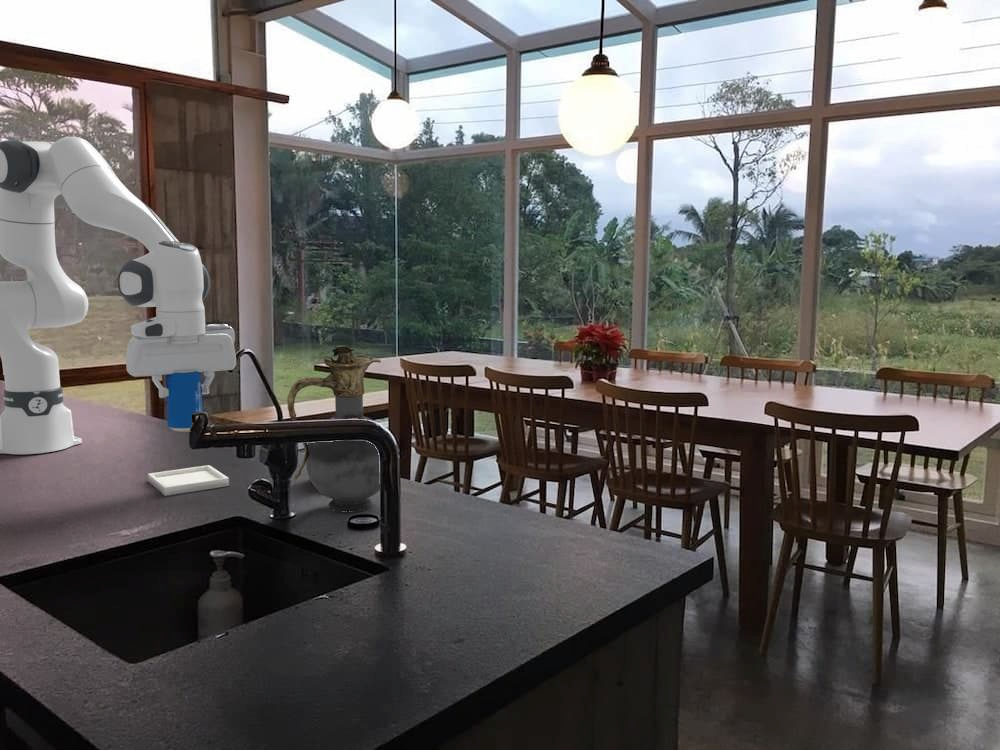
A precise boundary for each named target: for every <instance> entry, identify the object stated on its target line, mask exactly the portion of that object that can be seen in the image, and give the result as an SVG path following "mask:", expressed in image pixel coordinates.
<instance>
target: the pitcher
mask: <svg viewBox="0 0 1000 750" xmlns="http://www.w3.org/2000/svg"><path fill="white" fill-rule="evenodd" d="M355 351H357V350H356V349H355V348H351V346H350V347H349V346H347V345H337V346H334V348H333V349H332V351H331V352H332V353H333V357H337V356H338V357H337V359H334V358H333V357H331V356H328V355H325V356H323V357H322V356H321V357H320V359H323V362H324V364H325V366H326V367H329V369H330V373H329V374H328V376H327V377H324V378H322V377H314V376H306V377H303V378H300V379H298V380H296V381H295V382H294V383H292V386H291V388H290V390H289V392H288V395H287V410H288V415H289V418H290V419H291V422H292V421H293V420H297V413H296V411H295V400H296V396H297V395H298V392H299V391H301V390H302V389H304V388H307V387H310V386H315V387H316V386H317V387H320V388H327V389H331V390H332V393H333V396H335V397H334V399H335V405H334V406H335V416H333V417H331V418H330V419H348V418H358V419H367V420H372V421H375V420H374V419H371V418H369V417H367V416H364V396H363V395H365V385H364V384H365V383H364V378H365V374H366V371H367V370H368V368H369V367H370V365H372V364H373V363H379V364H381V359H379V358H376V357H369V356H366V355H354V354H353V353H352V352H355ZM302 445H303V449H304V456H303V460H302V463H301V465H300V467H299V469H298V470H297V472H296V474H295V478H294V480H295V481H296V480H297V479H298V478H299V477H300V476H301V473H302V471H303V468H304V467H306V471H307V475H308V478H309V481H311V483H312V485H313V486H314V488H315V489H316V490H317V491H318V493H320V494H321V495H323V496H325V497H326V498H329V499H331V501H330V502H329V503H328V508H329V510H330V509H332V510H331V511H333V510H334V511H333V512H335V511H345V512H344V513H348V512H349V511H358V512H360V511H359V510H363V509H366V510H368V509H370V508H372V506H373V505H374V504H373V501H372V499H371V497H373V496H374V495H375V494H377V493H378V492H380V491H381V490H380V484H379V455H378V451H377V449H376V448H375V446H374V445H373V444H371V443H369V442H366V441H333V442H315V443H308V442H307V443H302ZM369 507H370V508H369ZM367 508H368V509H367ZM346 511H347V512H346ZM363 511H364V510H363ZM349 513H350V512H349Z"/></svg>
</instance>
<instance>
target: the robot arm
mask: <svg viewBox="0 0 1000 750" xmlns="http://www.w3.org/2000/svg"><path fill="white" fill-rule="evenodd" d="M60 195H61V196H62V197H63V199H64V201H65V203H66V204H67V206H68V207H69V209H70V210H71V211H72V212H73V213H74V214H75V216H77V217H78V218H79V219H81V220H82V222H84V223H87V224H89V225H91V226H93V227H97V228H101V229H106V230H110V231H115V232H116V233H117V232H118V233H120V234H123V235H126V236H128V237H130V238H133V239H135V240H137V241H138V242H140V243H141V244H142V245H144V247H145V248H146V250H148V253H146V254H144V255H142V256H139V257H137V258H134V259H129V260H127V261H126V262H125V263H124V264H123V265H122V266H121V268H120V270H119V272H118V276H117V285H118V290H119V293H120V295H121V297H122V298H123V300H124V301H125V302H126V303H128V304H129V305H130V306H133V307H138V308H153V307H154V308H155V307H156V309H155V313H156V314H155V315H156V316H155V317H151V318H148V319H146V320H143V321H140V322H137V323H135V324H132V325H131V326H130V331H131V334H132V336H133V337H132V338H130V339H129V341H128V343H127V347H126V357H125V358H126V359H125V364H126V365H125V366H126V368H125V370H126V371H127V373H128V374H129V375H130V376H132V377H134V378H137V377H151V381H152V382H153V383H154V385H155V386H156V388H158V397H159V399H166V398H167V397H169V394H168V393H169V389H167V388H166V387H164V386H163V385H162V384H161V382H160V381H163V376H164V375H165V376H166V375H167V374H173V373H174V371H194V370H198V371H197V372H199V373H203V375H204V377H205V380H204V381H203V384H201V394H202V395H208V394H210V385H211V384H212V382H213V380H214V378H215V372H219V371H220V372H221V371H222V372H223V371H232V370H234V369H235V367H236V366H237V357H236V356H237V355H236V349H235V345H234V344H235V341H236V332H235V330H234V328H232V327H231V326H230V325H228V324H226V323H221V324H206V313H205V312H206V311H205V309H206V308H205V305H204V303H203V301H204V300H205V299H206V297H207V296H208V293H209V292H210V289H211V277H210V274H209V271H208V270H207V268H206V266H205V265H204V264H203V263H202V257H201V255H200V251H199V249H198V247H196V246H194V245H193V244H191V243H189V242H188V243H187V242H184V241H183V242H182V241H181V242H180V241H179V240H178V239H177V237H176V236H175V235H174V234H173V232H172V231H171V230H170V229H169V227H167V225H166V224H165V223H164V221H162V219H161V218H160V217H159V216H158V214H156V213H155V211H154V210H153V209H152V208H150V206H148V205H147V204H146V203H144V202H143V201H141V200H140V199H139V198H138V197H137V196H136V195H134V194H133V193H132V192H131V191H130V190H129V189H128V188H127V186H125V185H124V184H123V183H122V181H121V180H120V179H119V178H118V176H117V175H116V173H115V172H114V170H113V168H112V167H111V165H110V164H109V163H108V161H107V160H106V159H105V158H104V156H103V155H102V154H101V153H100V151H98V150H97V148H95V147H94V146H93V144H92V143H90V142H89V141H87V140H86V139H84V138H82V137H78V136H65V137H62V138H60V139H57V140H56V141H49V140H48V141H47V140H46V141H45V140H43V141H35V140H32V141H29V140H28V141H21V140H18V139H17V140H16V139H13V140H4V141H0V255H1V257H2V258H3V259H4V260H5V261H7V262H9V263H11V264H13V265H15V266H17V267H19V268H22V269H24V270H25V271H26V275H27V279H26V280H7V281H6V280H5V281H4V280H1V281H0V359H1V363H2V368H3V369H2V370H3V376H4V385H5V389H4V390H3V396H2V397H3V398H2V399H3V406H5V408H4V410H3V411H2V413H0V454H5V455H6V454H8V455H34V454H37V455H38V454H45V453H50V452H56V451H61V450H65V449H68V448H70V447H72V446H76V445H80V444H82V443H83V439H82V438H81V437H78V436H75V434H74V425H73V416H72V410H71V409H69V407H67V406H65V405H64V403H63V402H64V391H63V386H61V380H60V379H61V378H60V366H59V365H60V363H59V357H58V355H57V353H56V352H55V351H54V350H53V349H52V348H50V347H48V346H45V345H43V344H42V343H39V342H35V341H33V339H32V338H31V337H30V333H29V330H32V329H33V330H34V329H52V328H53V329H54V328H55V329H56V328H62V327H68V326H73V325H76V324H79V323H81V322H83V320H84V319H85V318H86V316H87V314H88V311H89V297H88V296H87V294H86V292H85V290H84V289H83V288H82V287H81V286H80V285H79V284H77V283H76V282H75V281H73V280H72V279H71V278H70V277H69V276H68V275H67V274H66V272H65V271H64V269H63V268H62V267H61V264H60V262H59V260H58V259H59V258H58V254H57V248H56V247H57V246H56V233H55V232H56V230H55V228H56V227H55V226H56V225H55V224H56V223H55V221H56V220H55V200H56V199H57V197H59V196H60Z"/></svg>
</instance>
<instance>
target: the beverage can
mask: <svg viewBox="0 0 1000 750" xmlns="http://www.w3.org/2000/svg"><path fill="white" fill-rule="evenodd" d="M197 371H198V370H194V371H174V373H173V374H167V375H165V388H167V389H169V393H168V394H169V397H167V398H165V399H166V418H167V419H166V423H167V427H168V428H170V429H171V430H172V431H174V432H181V433H182V432H183V433H184V432H191V431H190V426H191V425H192V414H193V413H195V412H202V413H203V403H202V402H203V400H202V399H203V398H202V395H203V394H201V385H202V375H201V372H197Z"/></svg>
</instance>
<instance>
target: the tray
mask: <svg viewBox="0 0 1000 750" xmlns="http://www.w3.org/2000/svg"><path fill="white" fill-rule="evenodd" d="M147 478H148V480H147V481H148V482H149V484H151V485H152V486H153V487H154V488H155V489H157V491H159V492H160V493H161V494H162V495H163V496H164V497H166V496H167V497H168V496H173V495H178V494H179V495H180V494H186V493H193V492H197V491H204V490H205V491H206V490H210V489H219V488H223V487H224V488H225V487H229V486H230V478H229V477H228V476H226V475H225V473H224V474H223V473H222V472H220V471H219V470H217V469H216V468H215V467H213V466H211V465H209V464H208V465H202V466H193V467H185V468H180V469H172V470H165V471H159V472H151V473H147Z"/></svg>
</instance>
